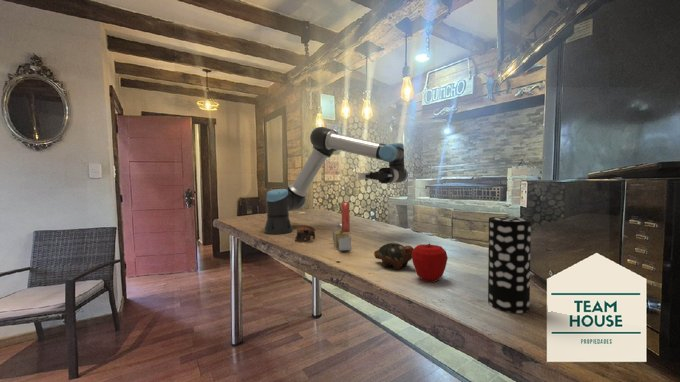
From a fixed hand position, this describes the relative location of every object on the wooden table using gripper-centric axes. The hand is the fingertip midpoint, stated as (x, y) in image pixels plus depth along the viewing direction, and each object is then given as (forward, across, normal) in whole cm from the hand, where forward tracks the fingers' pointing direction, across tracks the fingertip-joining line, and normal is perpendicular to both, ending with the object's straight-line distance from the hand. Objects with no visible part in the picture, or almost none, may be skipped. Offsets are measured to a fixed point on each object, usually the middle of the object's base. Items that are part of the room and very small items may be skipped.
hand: (359, 176), depth 120 cm
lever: (+7, +4, -21) cm, 23 cm away
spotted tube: (+24, -58, -30) cm, 69 cm away
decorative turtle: (+13, -22, -30) cm, 40 cm away
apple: (+19, -37, -30) cm, 51 cm away
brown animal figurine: (+2, +30, -31) cm, 43 cm away
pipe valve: (+3, +8, -30) cm, 31 cm away
